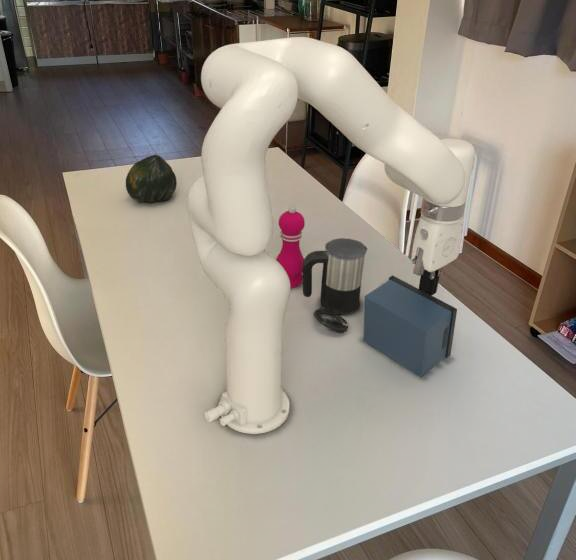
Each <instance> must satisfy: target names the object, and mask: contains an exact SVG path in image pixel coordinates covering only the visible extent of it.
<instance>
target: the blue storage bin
mask: <svg viewBox="0 0 576 560" xmlns="http://www.w3.org/2000/svg"><path fill="white" fill-rule="evenodd" d="M363 304H364V305H363V308H364V309H363V342H364V343H366V344H367V345H369V346H371V347H372V348H374V349H375V350H377V351H379V352H380V353H382V354H383V355H385V356H387V357H388V358H390V359H391V360H393V361H394V362H396V363H397V364H399V365H401V366H402V367H404V368H406V369H407V370H409V371H410V372H412V373H413V374H415V375H417V376H418V377H419V378H423V377H424V376H425V375H426V374H427V373H429V372H430V371H431V370H432V369H433V368H435V367H436V366H438V364H439V363H440V362H442V361H443V360H444V359H448V358H449V357H450V356H452V355H451V354H452V347H453V340H454V336H455V335H454V334H455V328H456V320H457V313H458V308H456V307H454V306H453V305H450V304H449V303H447V302H445V301H443V300H441V299H439V298H437V297H435V296H433V295H432V296H431V295H429V294H427V293H426V292H424V291H422V290H420V289H419V287H418V288H417V287H416V286H414V285H413V284H410V283H408V282H406V281H404V280H403V279H400V278H399V277H396V276H394V275H391V276H389V277H388V280H386V282H384V283H382V284H381V285H379V286H378V287H377V288H375V289H373V290H372V291H370V292H368V293H367V294H366V295H364V303H363Z"/></svg>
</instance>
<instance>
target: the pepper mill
mask: <svg viewBox="0 0 576 560" xmlns="http://www.w3.org/2000/svg"><path fill="white" fill-rule="evenodd" d="M305 221H306V220H305V217H304V216H303V214H302V213H301V212H298V211H297V208H296V206H294V205H290V206H289V207H288V209H287V211H284V212H283V213H282V214H281V215H280V216H279V218H278V227H279V229H280V239H281V241H282V242H281V243H282V244H281V245H282V246H281V249H280V251H279V253H278V255H277V256H276V258H275V259H276V260H277V261H278V262H279V263H280V265H281V266H282V267H283V268H284V270H285V271H286V273H287V275H288V277H289V280H290V289H293V288H297V287H299V286H301V285H302V284H303V267H302V266H303V260H304V258H305V257H304V255H303V254H302V251H301V248H300V241H301V240H302V238H303V230H304V228H305V226H306V225H305V224H306V223H305Z"/></svg>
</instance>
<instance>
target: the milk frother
mask: <svg viewBox="0 0 576 560" xmlns="http://www.w3.org/2000/svg"><path fill="white" fill-rule="evenodd" d="M324 248H325V250H315V251H311V252H309V253H308V254H306V256H305V257H303V258H304V260H303V266H302V267H303V273H302V275H303V278H302V293H303V294H302V295H303V296H304V297H306V298H310V297H311V296H312V295H313V294H312V293H313V267H314V266H315V265H316V264H322V275H321V286H320V301H319V302H320V306H321V307H322V308H317V309H315V310H314V312H313V317H314V318H315V319H316V321H317V322H319V323H320V325H322V326H324V327H325V328H327V329H329V330H331V331H333V332H339V333H344V332H346V331H347V330H348V328H349V324H348V322H347V320H346V318H344V317H342V316H340V315H350V314H353V313H355V312H357V311H358V310H359V309H360V307H361V301H360V300H361V288H362V280H363V272H364V265H365V257H366V254H367V252H368V247H367V246H366V245H365V244H364V243H363V242H362V241H359V240H356V239H352V238H345V237H343V238H342V237H340V238H334V239H331V240H329V241H327V242H326V243H325V245H324ZM322 315H325V316H329V317H332V318H330V319H329V318H324V317H323V316H322Z"/></svg>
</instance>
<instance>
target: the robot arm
mask: <svg viewBox="0 0 576 560" xmlns="http://www.w3.org/2000/svg"><path fill="white" fill-rule="evenodd" d="M200 83H201V87H202V89H203V92H204V94H205V96H206V97H207V99H208V100H209V101H210V102H211V103H212V104H213V105H215V106H216V107H217V108H220V110H219V111H218V113H217V114H216V116H215V118H214V120H213V121H212V122H211V125H210V127H209V128H208V130H207V132H206V134H205V136H204V139H203V143H202V147H201V154H200V155H201V158H200V159H201V168H202V174H200V176H198V177H197V179H195V181H193V183H192V184H191V187H190V189H189V191H188V194H187V198H186V215H187V218H188V223H189V227H190V230H191V234H192V239H193V242H194V247H195V251H196V254H197V259H198V262H199V265H200V267H201V268H202V270H203V273H204V274H205V276H206V277H207V278H208V279H209V280H210V282H211V283H212V284H213V285H214V286H215V287H216V288H217V289H218V290H219V291H220V293H221V294H222V295H223V296H224V297H225V299H226V300H227V302H228V304H229V307H230V311H229V314H228V316H227V318H226V321H225V326H224V342H225V364H226V365H225V366H226V390H225V391H224V392H223V393H221V397H220V400H219V402H218V405H216V406H214V407H212V408H210V409H208V410H207V411H205V412H204V415H203V416H204V418H205V420H206V421H207V422H208V423H209V424H211V423H212V422H214V421H215V420H217V419H219V423H220V425H221V426H222V427H225V426H226V425H227V426H228V427H229V428H230V429H232V430H234V431H237V432H239V433H242V434H249V435H257V434H264V433H268V432H272V431H274V430H276V429H278V428H279V427H280V426H281V425H283V424H284V422H286V420H287V418H288V416H289V414H290V409H291V408H290V404H291V403H290V399H289V396H288V395H287V393H286V392H285V391H284V390H283V389H282V386H283V384H282V383H283V353H284V352H283V351H284V325H285V324H284V323H285V316H286V311H287V306H288V303H289V299H290V295H291V288H290V280H289V277H288V275H287V273H286V271H285V270H284V268H283V267H282V266H281V265H280V263H279V262H278V261H277V260H276V259H277V258H274V257H273V256H272V255H271V254H270V253H269V252H267V250H266V249H267V247H268V246H269V244H270V243H271V240H272V238H273V234H274V217H273V210H272V204H271V198H270V191H269V184H268V179H267V168H266V156H267V152H268V149H269V146H270V145H271V143H272V141H273V140H274V138H275V136H276V135H277V134H278V132H279V131H280V130H281V129H282V128H283V126H284V125H285V124H286V123H287V122H288V120H289V119H290V118H291V116H292V115H293V114H294V111H295V109H296V106H297V103H298V100H301V101H303V102H305V103H308V104H309V105H310V106H311V107H313V108H314V109H315V110H317V111H318V112H319V113H320V114H321V115H322V116H323V117H324V118H325V119H327V120H328V121H329V122H330V123H331V124H332V125H333V126H334V127H335V128H336V129H337V130H339V131H340V133H341V134H343V136H345V138H347V139H348V141H350V143H352V144H353V145H354V146H355V147H357V149H359V150H361V151H363V152H364V153H365V154H367V155H368V156H370V157H372V158H373V159H374V160H377V161H379V162H381V163H383V164H384V167H383V168H384V172H385V174H386V176H387V178H388V179H389V180H391V182H393V183H394V184H395V185H397V186H400V187H401V188H403V189H404V190H407V191H408V192H412V193H413V194H415V195H417V196H419V197H420V198H422V201H421V207H420V217H419V221H418V223H417V226H416V230H415V234H414V239H413V242H412V249H411V254H410V263H411V264H412V265H414V267H413V270H412V274H414V275H416V276H418V277H420V278H419V284H418V289H420V290H422V291H424V292H426V293H427V294H429V295H431V296H433V295H435V294H437V292H438V288H439V287H438V286H439V281H440V276H441V275H442V274H443V269H444V267H445V266H447V265H449V264H450V263H452V262H453V261H455V260H457V258H459V255H460V251H461V247H462V246H461V245H462V239H463V230H464V209H465V206H466V200H467V196H468V191H469V186H470V182H471V176H472V171H473V166H474V161H475V155H476V150H475V148H474V146H473V144H471V142H468V141H466V140H463V139H459V138H439V137H438V136H436V134H435V133H433V132H432V131H431V130H429V129H428V128H427V127H425V126H424V125H423V124H421V122H419V121H418V120H417V119H415V117H413V116H412V115H411V114H410V113H408V112H407V111H406V110H405V109H403V108H402V107H400V105H398V104H397V102H395V101H394V100H393V99H392V98H391V97H390V96H389V94H388V93H387V92H386V91H385V90H384V89H383V88H382V87H381V86H380V84H379V83H378V82H377V81H376V80H375V79H374V78H373V76H372V75H371V74H370V73H369V71H368V70H366V68H365V67H364V66H363V65H362V64H361V63H360V62H359V61H358V60H357V58H356V57H355V56H354V55H353V54H352V53H351V52H350V51H348V50H346V49H345V48H343V47H341V46H339V45H336V44H333V43H329V42H326V41H322V40H320V39H315V38H312V37H307V36H293V37H282V38H281V37H280V38H274V39H265V40H257V41H247V42H238V43H231V44H230V43H229V44H226V45H224V46H221V47H218V48H217V49H215V50H214V51H211V53H210V54H209V55H208V56H207V58H206V59H205V61H204V63H203V65H202V68H201V73H200Z"/></svg>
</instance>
